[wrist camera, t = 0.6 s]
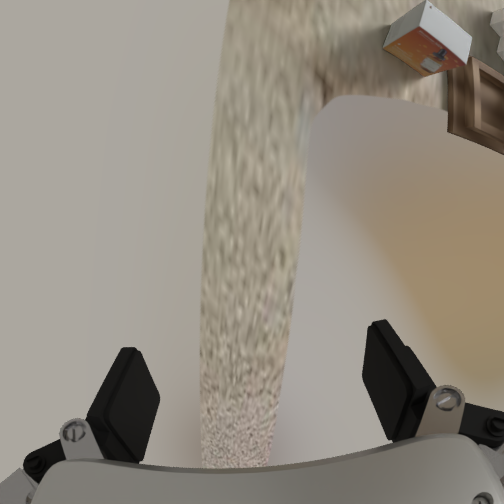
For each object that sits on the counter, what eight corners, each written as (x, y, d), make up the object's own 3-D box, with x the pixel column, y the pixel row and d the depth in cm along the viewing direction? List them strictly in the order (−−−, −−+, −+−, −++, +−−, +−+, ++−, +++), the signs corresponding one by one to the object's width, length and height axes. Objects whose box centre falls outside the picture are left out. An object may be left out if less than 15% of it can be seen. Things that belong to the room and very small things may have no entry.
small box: (381, 48, 30) (417, 25, 20) (390, 23, 29) (425, -3, 19) (424, 78, 31) (467, 66, 21) (433, 52, 30) (473, 37, 20)
